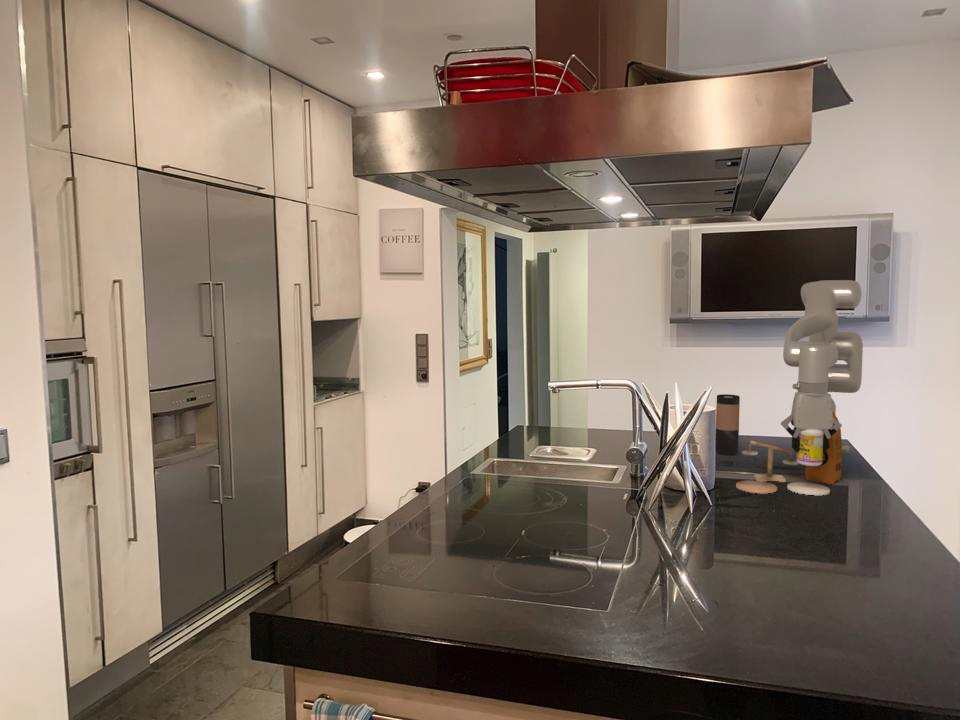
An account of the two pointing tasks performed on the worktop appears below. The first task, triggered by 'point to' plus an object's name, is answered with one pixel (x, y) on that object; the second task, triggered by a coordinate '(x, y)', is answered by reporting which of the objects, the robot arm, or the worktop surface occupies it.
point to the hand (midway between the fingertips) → (809, 450)
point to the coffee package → (828, 462)
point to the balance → (771, 461)
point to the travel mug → (727, 424)
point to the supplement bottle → (810, 447)
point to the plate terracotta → (756, 487)
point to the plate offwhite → (808, 488)
